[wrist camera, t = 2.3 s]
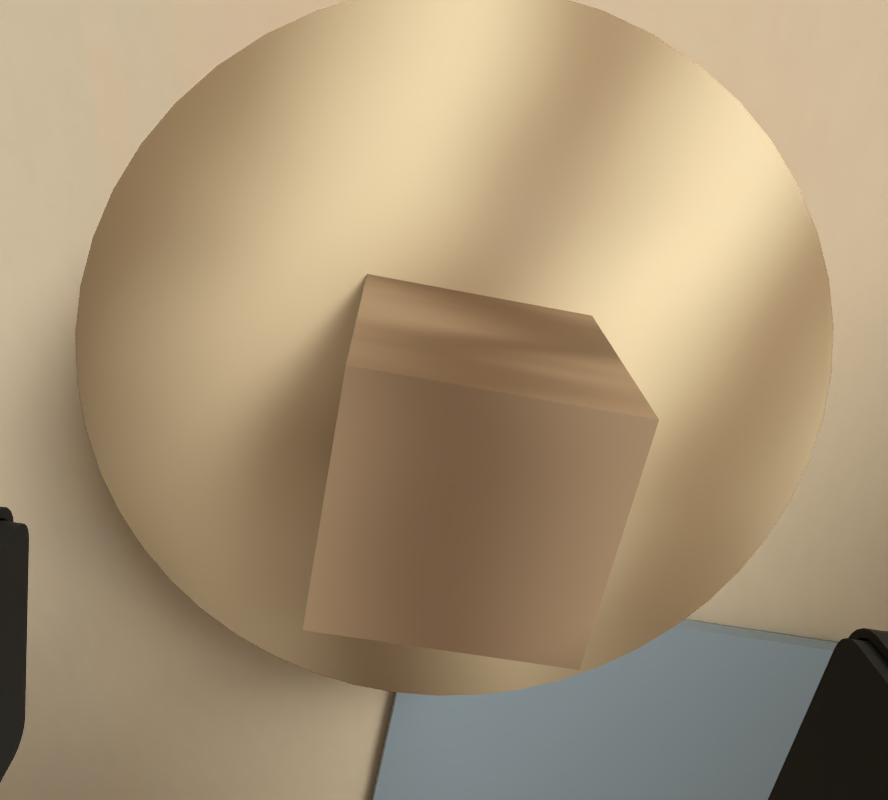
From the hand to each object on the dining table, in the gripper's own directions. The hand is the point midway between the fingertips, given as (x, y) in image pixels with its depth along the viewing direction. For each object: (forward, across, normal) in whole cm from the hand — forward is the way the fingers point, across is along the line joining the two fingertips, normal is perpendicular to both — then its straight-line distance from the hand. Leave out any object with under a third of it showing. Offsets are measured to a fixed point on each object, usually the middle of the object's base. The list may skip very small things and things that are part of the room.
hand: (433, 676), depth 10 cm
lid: (+9, -1, 0) cm, 9 cm away
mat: (+15, -11, +16) cm, 24 cm away
